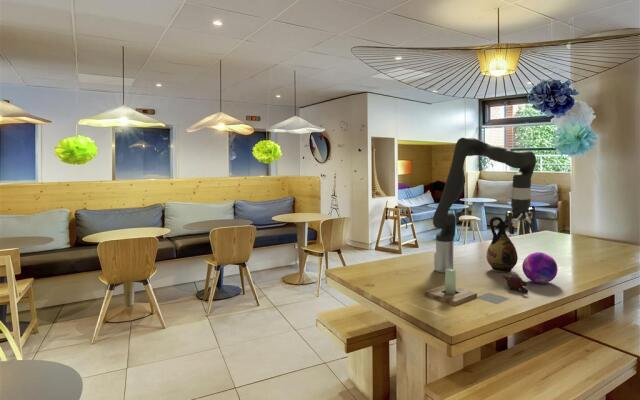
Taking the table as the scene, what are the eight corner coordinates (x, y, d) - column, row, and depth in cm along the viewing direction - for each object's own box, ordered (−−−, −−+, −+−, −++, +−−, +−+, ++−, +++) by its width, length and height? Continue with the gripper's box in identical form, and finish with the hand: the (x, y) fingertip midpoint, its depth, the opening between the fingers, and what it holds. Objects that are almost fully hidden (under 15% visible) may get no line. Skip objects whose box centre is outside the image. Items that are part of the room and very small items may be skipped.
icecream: (495, 272, 185) (519, 284, 171) (508, 267, 186) (532, 278, 172) (497, 285, 186) (521, 297, 172) (509, 279, 188) (534, 292, 174)
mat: (475, 298, 169) (475, 297, 169) (488, 293, 174) (488, 292, 174) (497, 304, 161) (497, 303, 161) (509, 299, 166) (509, 298, 166)
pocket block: (424, 296, 173) (424, 291, 173) (446, 288, 182) (446, 284, 182) (454, 306, 160) (454, 301, 160) (476, 297, 169) (476, 293, 169)
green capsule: (443, 295, 172) (443, 269, 171) (449, 293, 174) (449, 268, 173) (451, 298, 168) (451, 272, 167) (457, 296, 171) (457, 270, 169)
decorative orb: (548, 289, 177) (549, 258, 176) (516, 282, 189) (517, 252, 188) (562, 283, 186) (563, 253, 184) (530, 276, 198) (531, 247, 197)
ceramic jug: (510, 266, 216) (511, 214, 213) (522, 274, 201) (523, 218, 198) (479, 266, 218) (480, 214, 215) (488, 274, 202) (489, 219, 199)
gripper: (526, 193, 173) (524, 228, 176) (501, 197, 168) (500, 232, 172) (540, 196, 166) (538, 232, 169) (514, 200, 161) (513, 237, 165)
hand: (519, 232), depth 170 cm, fingers open, 8 cm apart
